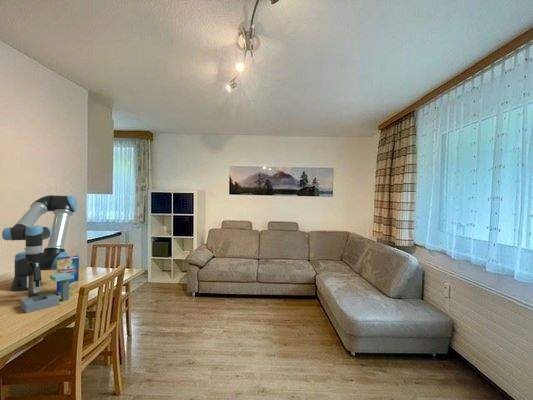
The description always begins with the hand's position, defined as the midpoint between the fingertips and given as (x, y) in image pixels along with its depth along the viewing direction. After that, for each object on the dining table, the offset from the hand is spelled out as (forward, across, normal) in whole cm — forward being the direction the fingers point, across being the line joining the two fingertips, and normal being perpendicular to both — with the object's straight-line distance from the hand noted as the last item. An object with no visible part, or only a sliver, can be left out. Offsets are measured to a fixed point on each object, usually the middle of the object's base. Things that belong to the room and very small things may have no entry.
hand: (33, 289), depth 158 cm
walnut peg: (+6, 0, 0) cm, 6 cm away
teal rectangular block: (+6, +13, +9) cm, 17 cm away
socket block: (+6, +13, 0) cm, 14 cm away
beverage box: (+6, +1, +16) cm, 18 cm away
